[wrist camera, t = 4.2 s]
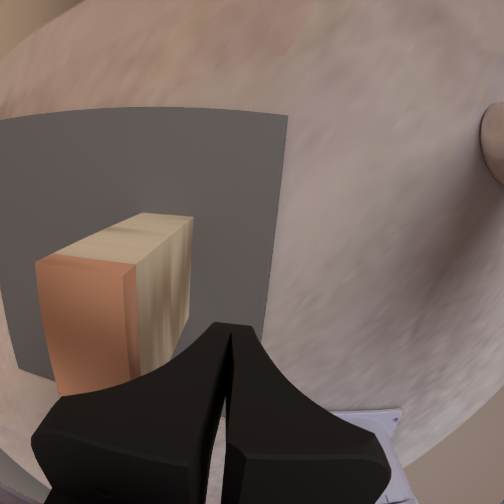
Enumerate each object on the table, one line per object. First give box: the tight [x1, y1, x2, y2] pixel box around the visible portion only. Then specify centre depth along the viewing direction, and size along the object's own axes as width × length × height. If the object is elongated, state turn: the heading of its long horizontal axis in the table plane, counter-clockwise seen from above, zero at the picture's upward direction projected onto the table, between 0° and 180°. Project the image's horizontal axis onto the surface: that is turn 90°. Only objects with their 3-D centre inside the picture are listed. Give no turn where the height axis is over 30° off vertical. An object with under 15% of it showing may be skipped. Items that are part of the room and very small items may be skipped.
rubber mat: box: [0, 107, 288, 417], centre depth 19 cm, size 20×20×1 cm
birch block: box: [35, 213, 194, 398], centre depth 13 cm, size 6×3×10 cm, turn 174°
